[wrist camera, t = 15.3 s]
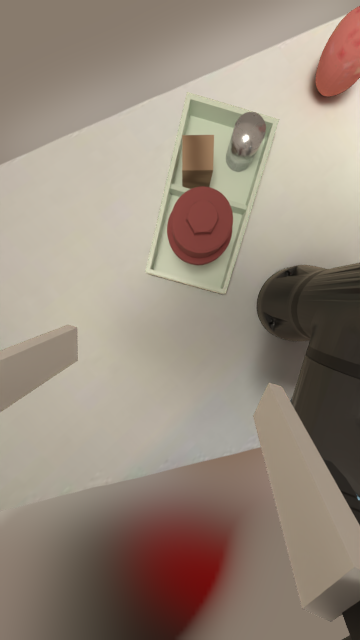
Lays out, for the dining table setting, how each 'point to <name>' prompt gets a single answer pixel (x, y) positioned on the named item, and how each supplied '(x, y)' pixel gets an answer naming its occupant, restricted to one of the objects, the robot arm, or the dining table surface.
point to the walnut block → (197, 160)
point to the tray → (235, 186)
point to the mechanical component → (200, 225)
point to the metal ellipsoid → (245, 141)
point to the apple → (340, 57)
